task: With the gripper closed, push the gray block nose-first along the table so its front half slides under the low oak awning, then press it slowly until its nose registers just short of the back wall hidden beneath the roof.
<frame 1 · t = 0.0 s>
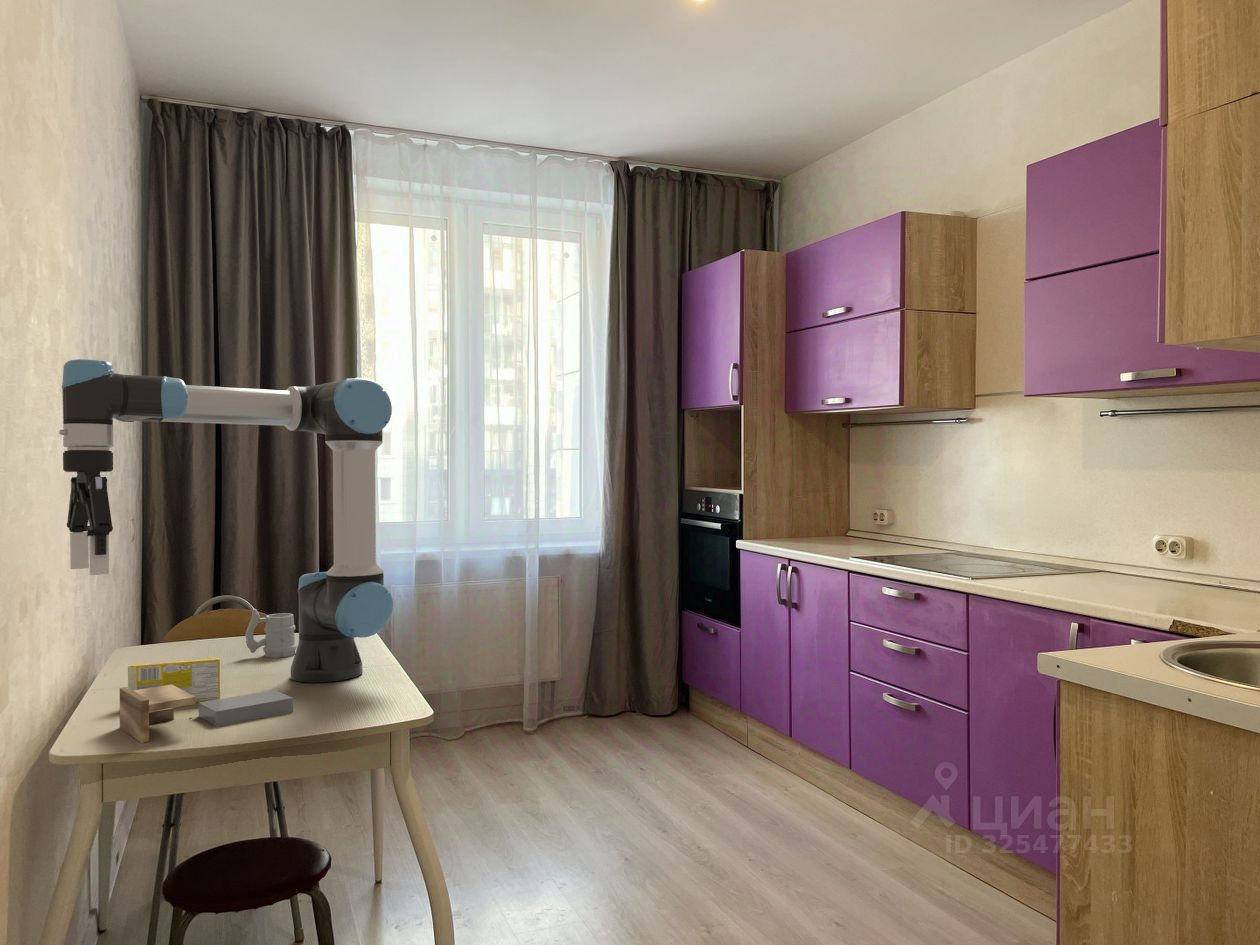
hand: (89, 571, 157), 28 cm above the table, fingers open, 13 cm apart
mug: (271, 656, 223), on the table
candy box: (175, 704, 177), on the table
shelf: (159, 729, 158), on the table
gray block: (246, 716, 169), on the table
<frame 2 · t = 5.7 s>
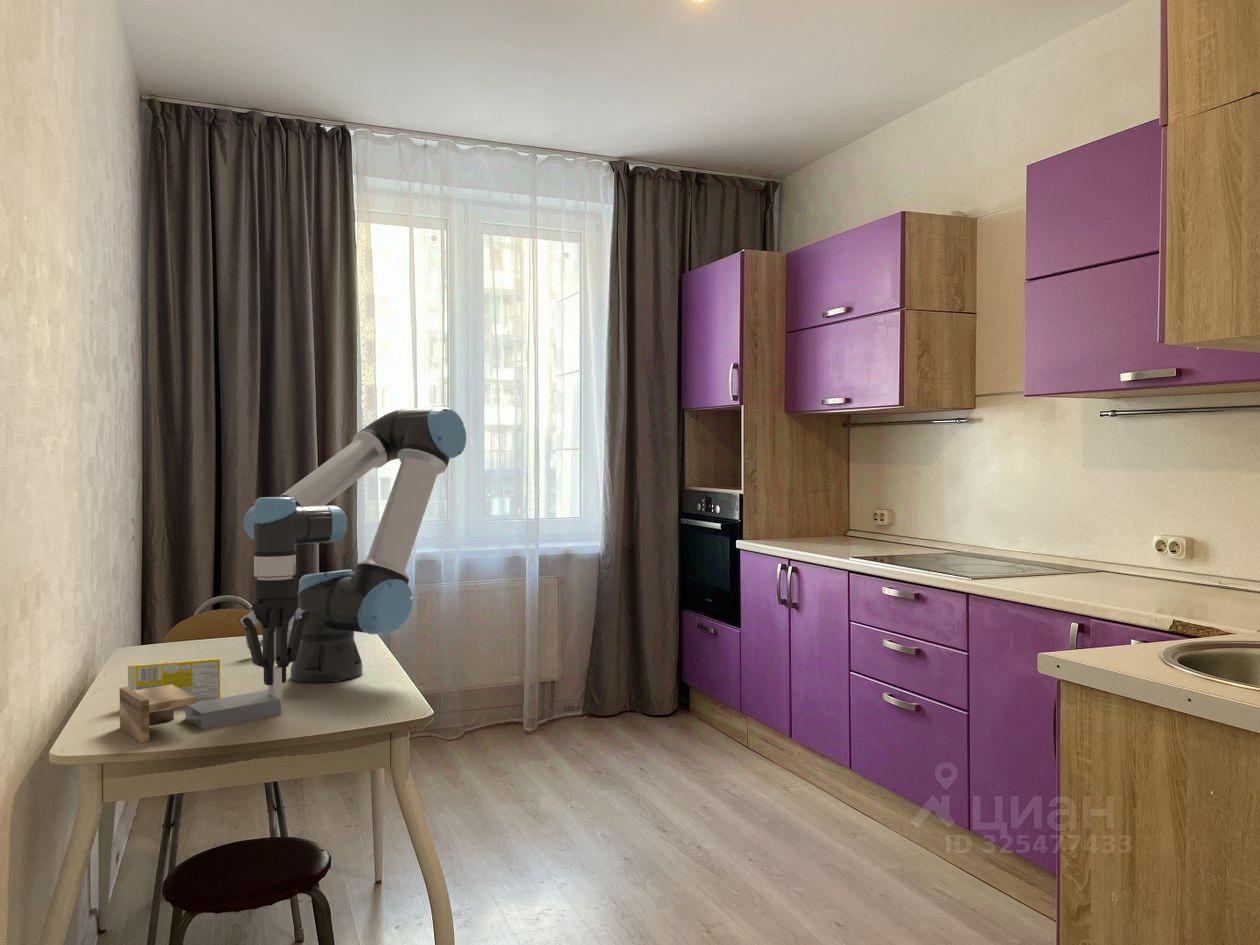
hand: (275, 701, 172), 1 cm above the table, fingers closed
gray block: (233, 717, 167), on the table
everything else where it was.
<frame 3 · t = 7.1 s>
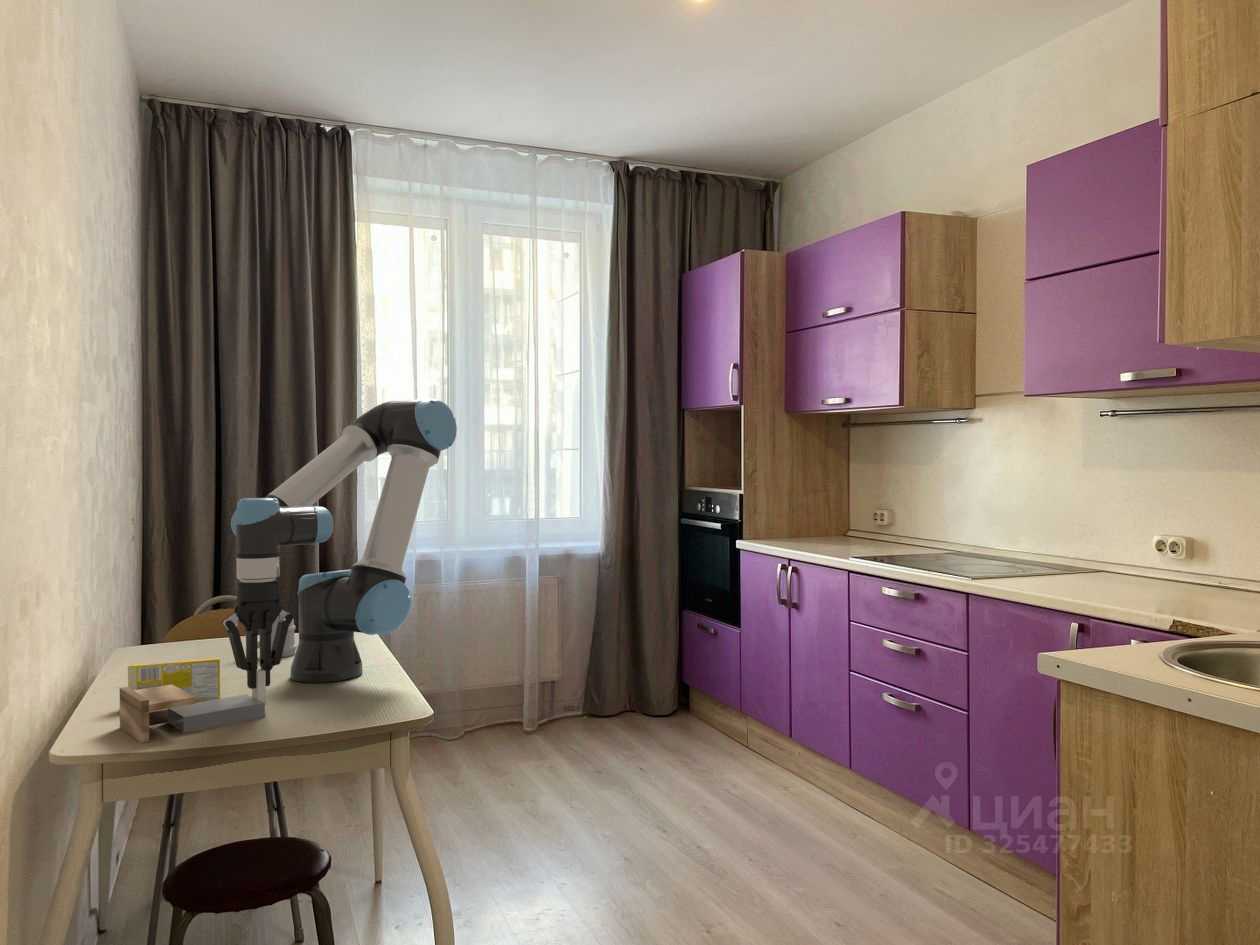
hand: (258, 704, 170), 1 cm above the table, fingers closed
gray block: (216, 721, 165), on the table, touching gripper
everything else where it was.
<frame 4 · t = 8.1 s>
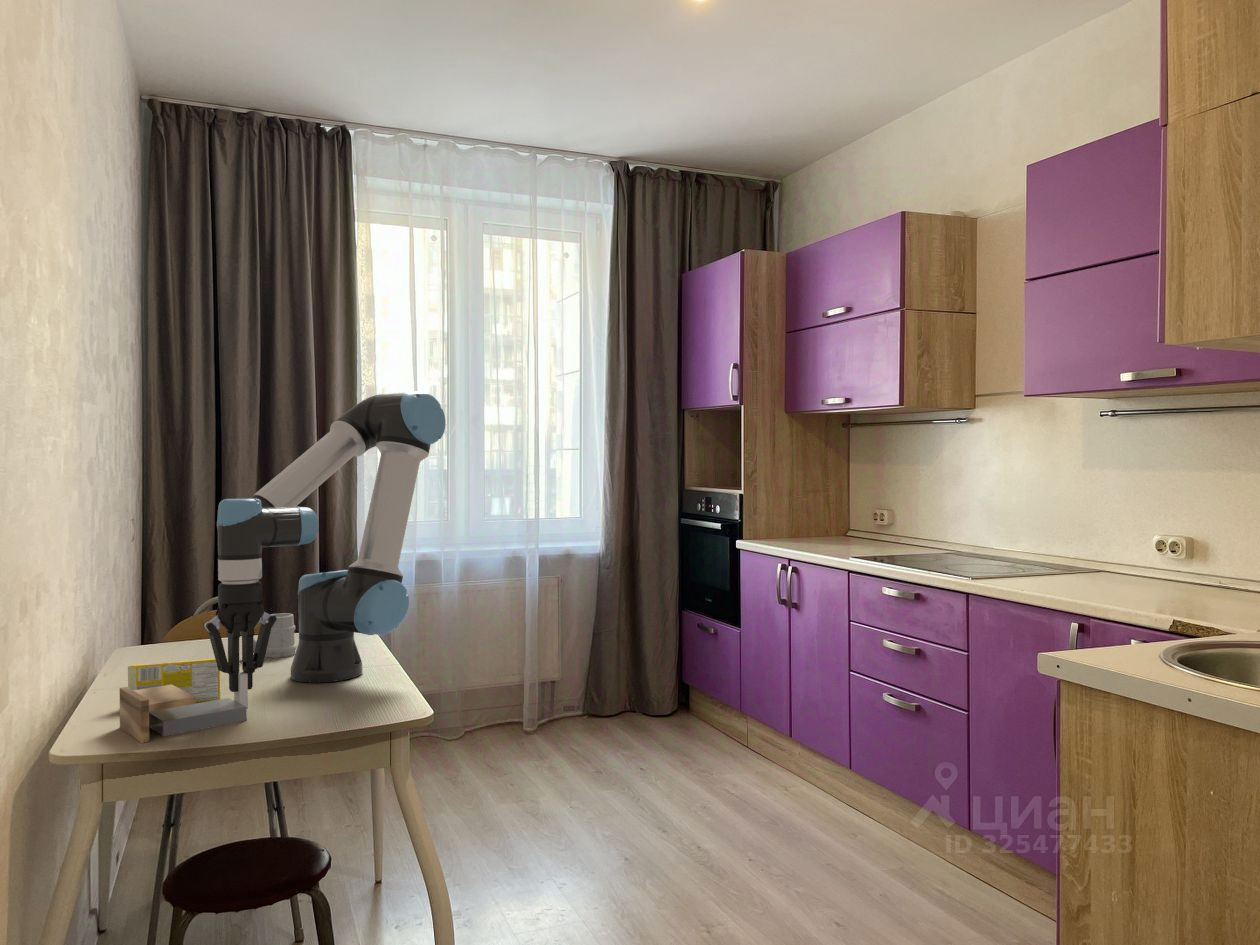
hand: (241, 708, 168), 1 cm above the table, fingers closed
gray block: (197, 725, 163), on the table
everything else where it was.
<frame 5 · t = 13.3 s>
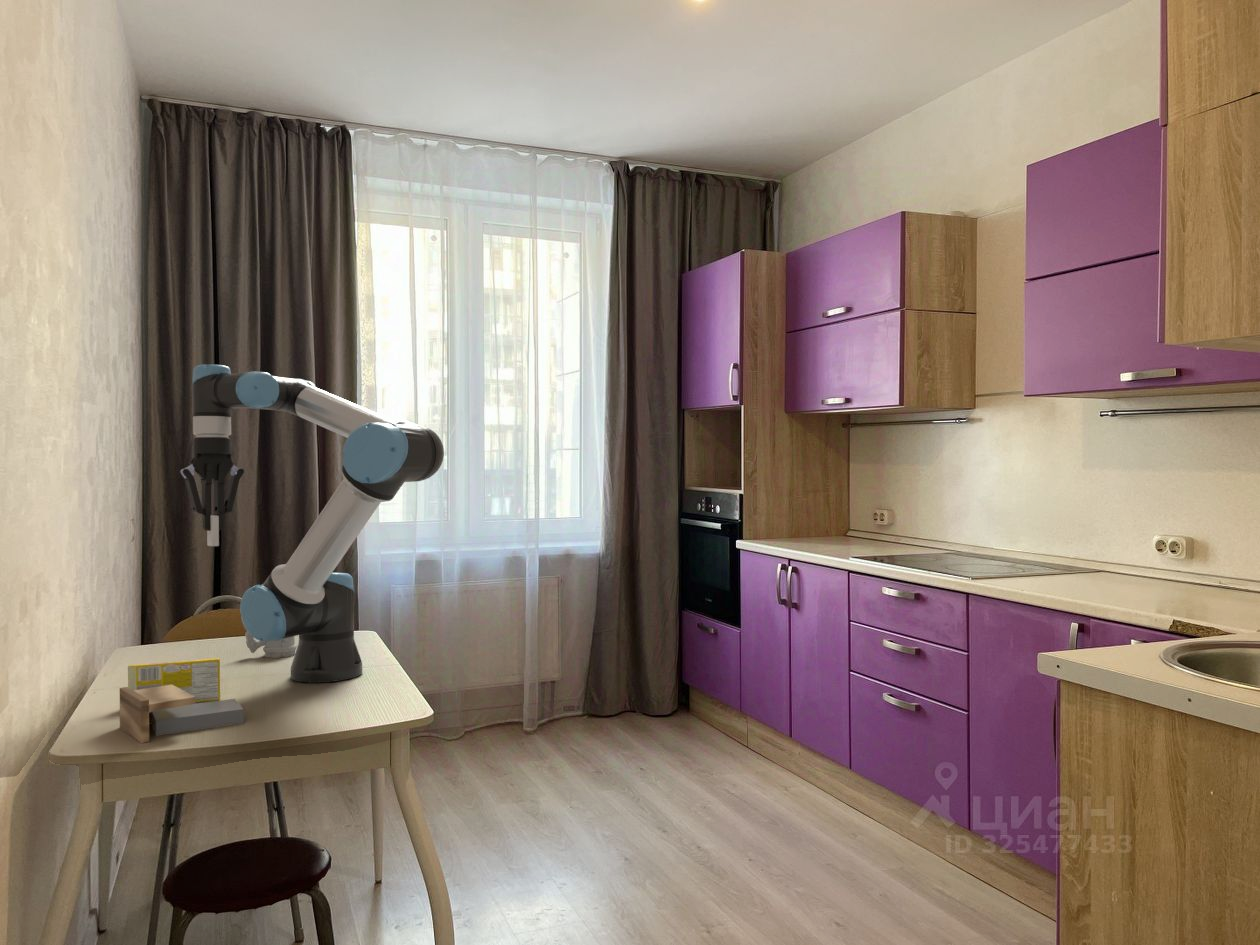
hand: (213, 545, 195), 29 cm above the table, fingers closed
at the end: gray block 2.2 cm from the target spot, on the table; gray block tilted 0° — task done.
